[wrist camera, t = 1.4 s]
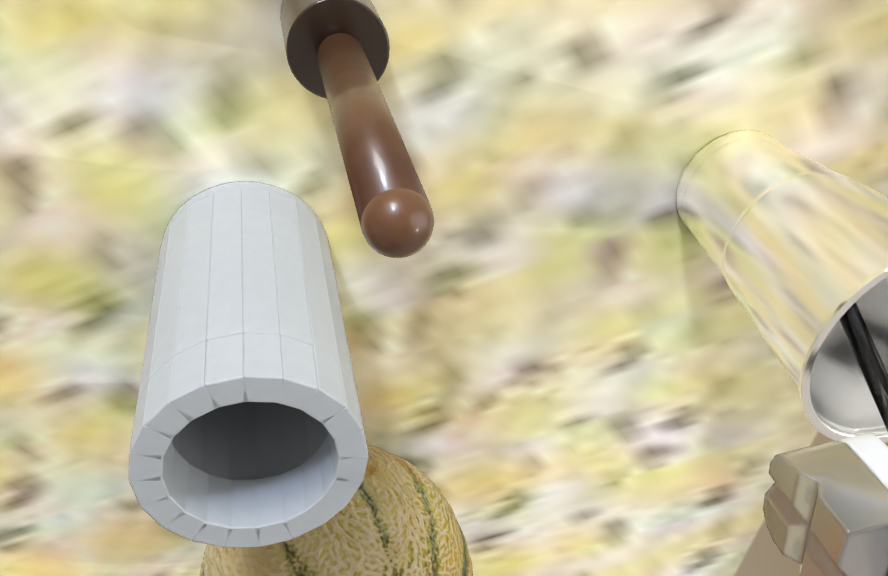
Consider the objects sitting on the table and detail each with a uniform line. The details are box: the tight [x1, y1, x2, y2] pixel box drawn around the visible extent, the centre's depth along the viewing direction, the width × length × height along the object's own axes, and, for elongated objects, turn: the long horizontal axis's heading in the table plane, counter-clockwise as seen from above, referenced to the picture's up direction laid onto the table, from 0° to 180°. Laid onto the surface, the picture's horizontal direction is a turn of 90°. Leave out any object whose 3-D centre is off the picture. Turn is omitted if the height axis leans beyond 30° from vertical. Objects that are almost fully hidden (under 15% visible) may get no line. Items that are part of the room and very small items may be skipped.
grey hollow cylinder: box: [129, 182, 369, 548], centre depth 35 cm, size 8×8×15 cm
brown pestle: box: [281, 0, 434, 258], centre depth 28 cm, size 4×4×20 cm
